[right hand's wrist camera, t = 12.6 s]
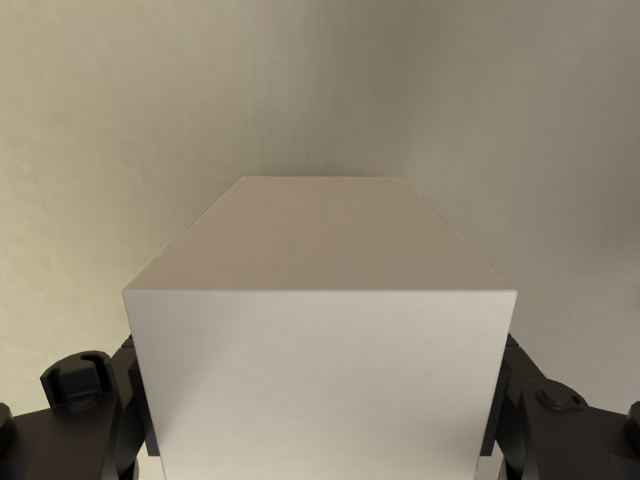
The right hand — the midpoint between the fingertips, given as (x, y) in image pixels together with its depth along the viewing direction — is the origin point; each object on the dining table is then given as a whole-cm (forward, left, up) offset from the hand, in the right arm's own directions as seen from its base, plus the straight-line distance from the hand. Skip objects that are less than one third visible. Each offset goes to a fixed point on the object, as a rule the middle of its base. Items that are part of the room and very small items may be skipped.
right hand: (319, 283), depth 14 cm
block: (0, 0, -3) cm, 3 cm away
